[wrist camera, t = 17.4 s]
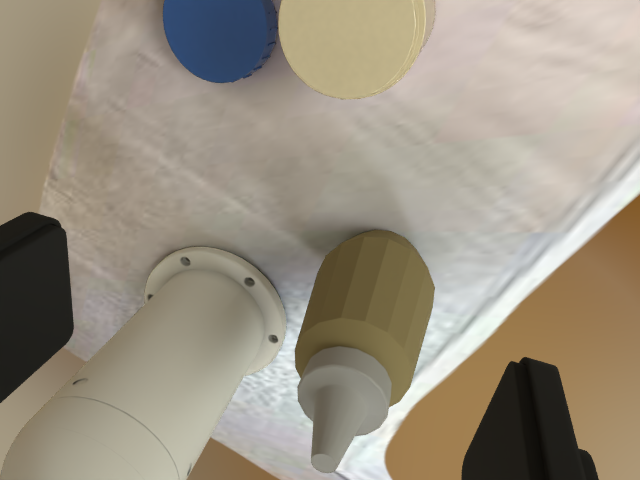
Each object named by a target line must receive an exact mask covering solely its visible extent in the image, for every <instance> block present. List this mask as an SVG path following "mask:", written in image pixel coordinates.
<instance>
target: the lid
mask: <svg viewBox="0 0 640 480" xmlns="http://www.w3.org/2000/svg"><path fill="white" fill-rule="evenodd" d="M276 13H277V12H276V11H275V9H274V5H273V2H272V0H165V1H164V6H163V23H164V30H165V34H166V37H167V40H168V43H169V45H170V47H171V49H172V51H173V53H174V54H175V56H176V57H177V59H178V60H179V61H180V63H181V64H182V65H183V66H184V67H185V68H186V69H188V70H189V71H190V72H191V73H193V74H194V75H196V76H197V77H199V78H202V79H204V80H207V81H210V82H215V83H227V82H235V81H237V80H239V79H240V78H246V77H249V76H251V75H252V73H253V72H255V71H257V70H258V69H260V68H262V65H263V64H264V63H265V62H266V60H267V59H268V58H270V54H271V52H272V50H273V47H274V44H276V42H275V39H276V32H277V29H278V27H277V19H276Z"/></svg>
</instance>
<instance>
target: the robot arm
mask: <svg viewBox="0 0 640 480" xmlns="http://www.w3.org/2000/svg"><path fill="white" fill-rule="evenodd" d="M144 304H145V305H144V306H143V307H142V308H141V309H140V310H139V311H138V312H137V313H136V314H135V315H134V316H133V317H132V318H131V319H130V320H129V321H128V322H127V323H126V324H125V325H124V326H123V327H122V328H121V329H120V330H119V331H118V332H117V333H116V334H115V335H114V336H113V337H112V338H111V339H110V340H109V341H108V342H107V343H106V344H105V345H104V346H103V347H102V348H101V349H100V350H99V351H98V352H97V353H96V354H95V355H94V356H93V357H92V358H91V359H90V360H89V361H88V362H87V363H86V364H85V365H84V366H83V367H82V368H81V369H80V370H79V371H78V372H77V373H76V374H75V375H74V376H73V377H72V378H71V379H70V380H69V381H68V382H67V383H66V384H65V385H64V386H63V387H62V388H61V389H60V390H59V391H58V392H57V393H56V394H55V395H54V396H53V397H52V398H51V399H50V400H49V401H48V402H47V403H46V404H45V405H44V406H43V407H42V408H41V409H40V410H39V411H38V412H37V413H36V414H35V415H34V416H33V417H32V418H31V419H30V420H29V421H28V422H27V423H26V425H25V426H24V427H23V428H22V429H21V431H20V432H19V434H18V436H17V437H16V438H15V440H14V442H13V443H12V445H11V447H10V449H9V451H8V453H7V455H6V458H5V460H4V464H3V467H2V470H1V474H0V480H186V479H187V477H188V476H189V473H190V472H191V470H192V468H193V467H194V465H195V463H196V461H197V460H198V458H199V456H200V454H201V452H202V450H203V448H204V446H205V445H206V443H207V441H208V440H209V438H210V436H211V434H212V433H213V431H214V429H215V427H216V426H217V424H218V422H219V420H220V418H221V417H222V415H223V413H224V411H225V409H226V408H227V406H228V404H229V402H230V401H231V399H232V397H233V395H234V393H235V392H236V390H237V388H238V386H239V384H240V383H241V381H242V379H243V377H244V376H246V375H250V374H253V373H256V372H258V371H260V370H262V369H263V368H265V367H267V366H268V365H269V364H270V363H271V362H272V361H273V360H274V359H275V357H276V355H277V354H278V352H279V350H280V348H281V346H282V344H283V341H284V339H285V334H286V327H287V326H286V315H285V311H284V308H283V304H282V302H281V300H280V298H279V296H278V294H277V292H276V290H275V289H274V287H273V286H272V285H271V283H270V282H269V280H268V279H267V278H266V277H265V276H264V275H263V274H262V273H261V272H260V271H259V270H258V269H257V268H255V267H254V266H253V265H251V264H250V263H248V262H247V261H245V260H244V259H242V258H240V257H238V256H236V255H234V254H232V253H230V252H226V251H223V250H220V249H217V248H210V247H189V248H185V249H181V250H178V251H176V252H174V253H172V254H170V255H168V256H167V257H166V258H164V259H163V260H162V261H161V262H160V263H159V264H158V265H157V266H156V267H155V268H154V269H153V270H152V272H151V273H150V275H149V277H148V280H147V282H146V286H145V291H144ZM73 330H74V324H73V311H72V298H71V286H70V273H69V261H68V248H67V236H66V232H65V230H64V229H63V228H61V224H60V223H59V221H58V220H56V219H54V218H51V217H47V216H44V215H40V214H37V213H34V212H27V213H24V214H22V215H20V216H18V217H16V218H14V219H12V220H10V221H8V222H7V223H5V224H3V225H1V226H0V403H1V402H2V401H3V400H4V399H6V398H7V397H8V396H9V395H10V394H11V393H12V392H13V391H14V390H16V389H17V388H18V387H19V386H20V385H21V384H22V383H23V382H24V381H25V380H27V379H28V378H29V377H30V376H31V375H32V374H33V373H34V372H35V371H37V370H38V369H39V368H40V367H41V366H42V365H43V364H44V363H45V362H47V361H48V360H49V359H50V358H51V357H52V356H53V355H54V354H55V353H56V352H58V351H59V350H60V349H61V348H62V347H63V346H64V345H65V344H66V343H67V342H68V341H69V339H70V338H71V336H72V334H73ZM462 480H599V479H598V475H597V472H596V468H595V465H594V462H593V460H592V457H591V455H590V454H589V453H588V452H587V451H585V450H582V449H578V446H577V442H576V438H575V434H574V430H573V426H572V422H571V418H570V414H569V410H568V406H567V402H566V398H565V394H564V390H563V386H562V382H561V378H560V375H559V371H558V369H557V367H556V366H554V365H551V364H548V363H544V362H541V361H537V360H534V359H531V358H527V357H524V358H522V359H521V361H520V362H519V363H516V362H513V361H511V362H510V363H509V364H508V366H507V368H506V370H505V372H504V374H503V376H502V378H501V381H500V383H499V385H498V387H497V389H496V391H495V393H494V395H493V397H492V400H491V402H490V404H489V406H488V408H487V410H486V413H485V414H484V416H483V419H482V421H481V423H480V425H479V427H478V429H477V431H476V434H475V436H474V438H473V440H472V442H471V444H470V446H469V448H468V450H467V452H466V455H465V458H464V461H463V466H462Z"/></svg>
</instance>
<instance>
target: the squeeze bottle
mask: <svg viewBox="0 0 640 480" xmlns="http://www.w3.org/2000/svg"><path fill="white" fill-rule="evenodd" d="M434 290H435V287H434V284H433V281H432V278H431V276H430V273H429V270H428V267H427V266H426V264H425V262H424V261H423V259H422V258H421V256H420V255H419V253H418V251H417V250H416V249H415V248H414V247H413V246H412V244H411V243H410V242H409V241H408V240H407V239H406V238H404V237H402V236H400V235H398V234H396V233H394V232H392V231H383V230H372V231H368V232H365V233H361V234H359V235H357V236H355V237H353V238H351V239H349V240H346V241H344V242H342V243H341V244H340V245H339V246H337V247H336V248H335V249H334V250H332V251H331V252H330V253H329V254H327V255H326V256H325V259H324V261H323V263H322V265H321V267H320V269H319V271H318V273H317V277H316V280H315V283H314V287H313V290H312V293H311V297H310V300H309V304H308V307H307V310H306V314H305V317H304V321H303V324H302V327H301V331H300V334H299V337H298V341H297V344H296V348H295V367H296V370H297V372H298V374H299V376H300V378H301V380H300V382H299V385H298V402H299V403H300V405H301V407H302V409H303V411H304V413H305V415H306V416H307V417H309V418H310V419H311V420H312V421H313V438H312V453H311V463H312V465H313V467H314V468H315V469H316V470H318V471H320V472H323V473H332V472H334V471H335V470H336V469H337V467H338V465H339V463H340V461H341V460H342V458H343V456H344V454H345V452H346V451H347V449H348V447H349V445H350V443H351V442H352V440H353V438H354V436H360V435H366V434H368V433H370V432H372V431H374V430H376V429H378V428H380V426H381V425H382V423H383V422H384V421H385V419H386V418H387V415H388V409H389V407H391V406H392V405H394V404H396V403H398V402H400V400H401V399H402V397H403V396H404V395H405V393H406V392H407V390H408V389H409V388H410V385H411V382H412V378H413V375H414V371H415V368H416V364H417V361H418V357H419V354H420V350H421V347H422V343H423V339H424V336H425V332H426V329H427V325H428V322H429V318H430V315H431V311H432V308H433V299H434Z"/></svg>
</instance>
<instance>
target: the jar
mask: <svg viewBox="0 0 640 480" xmlns="http://www.w3.org/2000/svg"><path fill="white" fill-rule="evenodd" d="M435 13H436V8H435V0H281V4H280V9H279V18H278V30H279V38H280V43H281V46H282V50H283V52H284V55H285V57H286V59H287V61H288V63H289V65H290V67H291V68H292V69H293V71H294V72H295V74H296V75H297V76H298V77H299V78H300V79H301V80H302V81H303V82H304V83H305V84H306V85H308V86H309V87H311V88H312V89H314V90H315V91H317V92H319V93H321V94H324V95H327V96H330V97H334V98H339V99H361V98H365V97H370V96H373V95H376V94H379V93H381V92H383V91H385V90H387V89H389V88H390V87H392V86H393V85H394V84H396V83H397V82H398V81H399V80H400V79H401V78H402V77H403V76H404V75H405V74H406V73H407V72H408V70H409V69H410V68H411V66H412V65H413V63H414V62H415V60H416V58H417V57H418V55H419V54H420V52H421V51H422V49H423V47H424V46H425V44H426V43H427V41H428V39H429V37H430V35H431V32H432V29H433V26H434V21H435Z"/></svg>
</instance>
